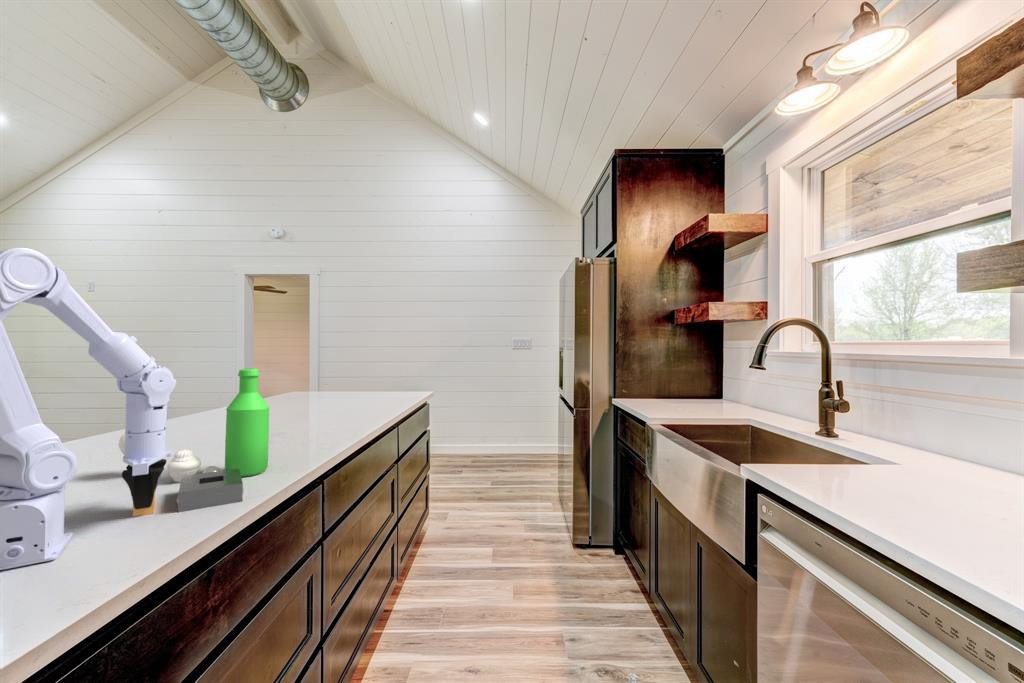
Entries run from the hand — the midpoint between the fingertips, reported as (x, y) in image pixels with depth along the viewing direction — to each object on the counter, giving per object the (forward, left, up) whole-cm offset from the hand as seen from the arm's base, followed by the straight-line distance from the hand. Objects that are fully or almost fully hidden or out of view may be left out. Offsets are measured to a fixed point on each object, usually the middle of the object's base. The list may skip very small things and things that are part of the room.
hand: (144, 504), depth 77 cm
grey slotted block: (+5, -10, -1) cm, 11 cm away
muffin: (+19, -5, -2) cm, 20 cm away
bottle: (+18, -17, -2) cm, 25 cm away
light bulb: (+29, +4, -2) cm, 29 cm away
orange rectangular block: (0, 0, -1) cm, 1 cm away
